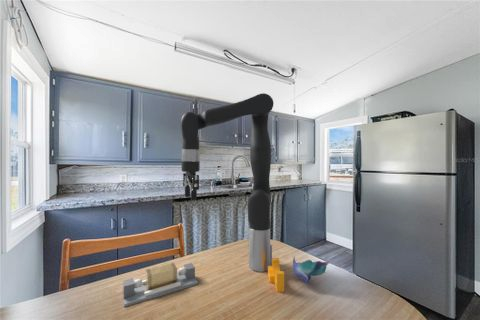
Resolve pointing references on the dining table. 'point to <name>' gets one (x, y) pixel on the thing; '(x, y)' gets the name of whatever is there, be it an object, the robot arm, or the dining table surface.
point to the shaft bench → (138, 292)
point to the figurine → (309, 269)
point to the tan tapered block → (161, 276)
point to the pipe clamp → (276, 275)
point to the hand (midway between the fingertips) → (190, 198)
